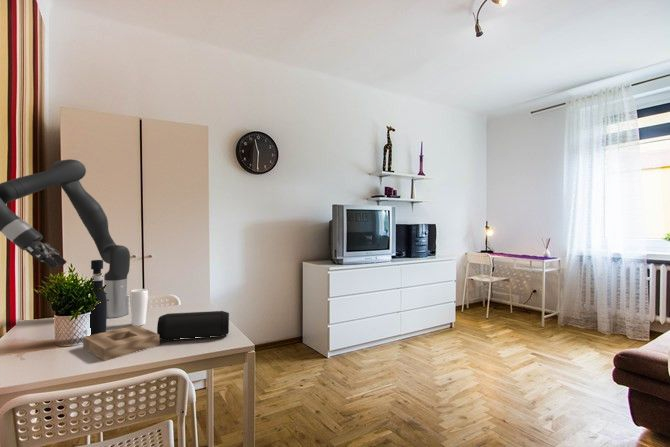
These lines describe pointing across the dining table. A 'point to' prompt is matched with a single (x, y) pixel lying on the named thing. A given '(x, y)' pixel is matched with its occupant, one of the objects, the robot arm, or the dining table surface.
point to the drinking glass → (138, 306)
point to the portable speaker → (193, 325)
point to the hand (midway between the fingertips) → (60, 265)
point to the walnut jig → (120, 342)
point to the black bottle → (100, 309)
